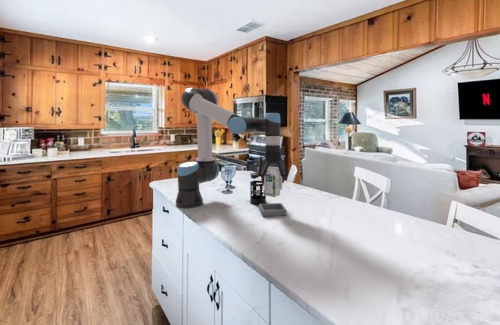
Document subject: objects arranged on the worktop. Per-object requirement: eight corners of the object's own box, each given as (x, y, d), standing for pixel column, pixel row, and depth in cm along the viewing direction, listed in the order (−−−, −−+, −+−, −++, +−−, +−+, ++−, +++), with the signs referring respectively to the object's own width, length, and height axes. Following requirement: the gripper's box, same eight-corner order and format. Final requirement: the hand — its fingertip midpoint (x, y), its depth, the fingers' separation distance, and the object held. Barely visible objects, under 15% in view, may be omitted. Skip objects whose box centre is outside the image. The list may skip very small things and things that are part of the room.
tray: (262, 216, 140) (262, 211, 140) (259, 209, 152) (259, 203, 152) (286, 215, 142) (286, 210, 141) (281, 208, 153) (281, 203, 153)
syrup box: (264, 195, 145) (264, 167, 143) (271, 193, 149) (271, 166, 147) (274, 197, 141) (274, 168, 139) (280, 195, 146) (280, 167, 144)
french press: (269, 204, 161) (269, 163, 158) (254, 206, 158) (254, 165, 155) (261, 198, 172) (260, 161, 169) (246, 200, 169) (246, 162, 165)
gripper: (253, 145, 137) (253, 192, 140) (294, 144, 139) (294, 190, 142) (251, 144, 144) (251, 188, 148) (291, 143, 146) (290, 187, 150)
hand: (272, 189), depth 145 cm, fingers closed on syrup box, 8 cm apart
